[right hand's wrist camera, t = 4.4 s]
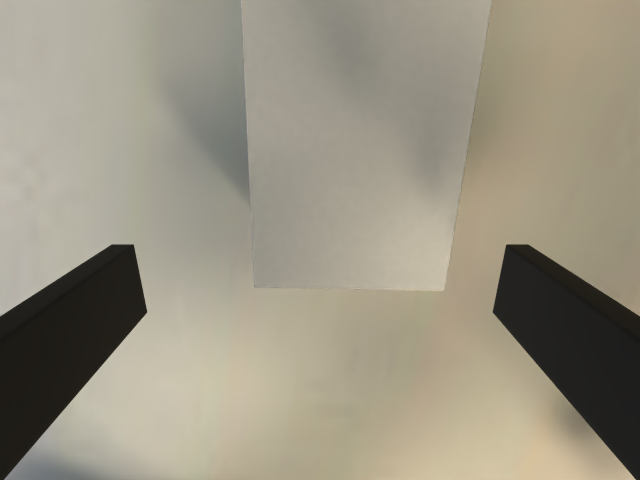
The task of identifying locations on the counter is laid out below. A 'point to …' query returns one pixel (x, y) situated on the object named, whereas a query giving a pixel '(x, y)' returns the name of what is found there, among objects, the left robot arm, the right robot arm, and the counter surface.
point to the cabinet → (358, 137)
